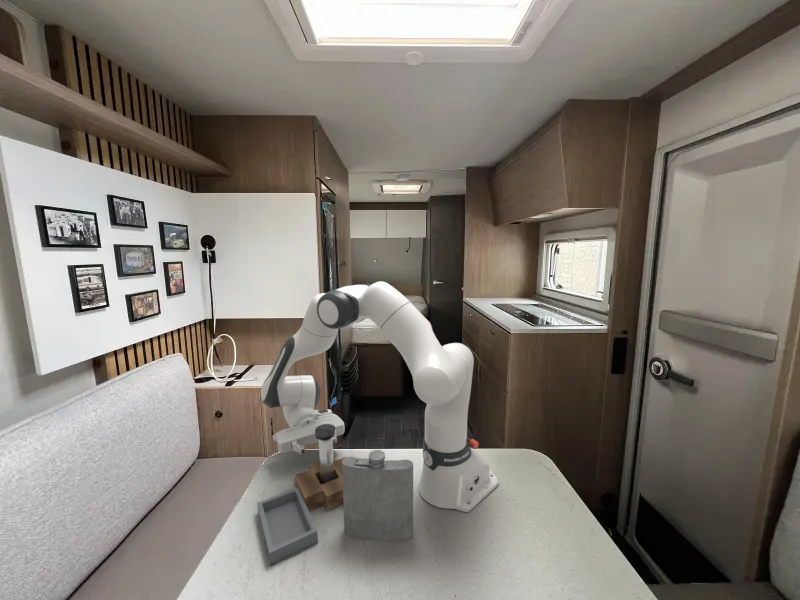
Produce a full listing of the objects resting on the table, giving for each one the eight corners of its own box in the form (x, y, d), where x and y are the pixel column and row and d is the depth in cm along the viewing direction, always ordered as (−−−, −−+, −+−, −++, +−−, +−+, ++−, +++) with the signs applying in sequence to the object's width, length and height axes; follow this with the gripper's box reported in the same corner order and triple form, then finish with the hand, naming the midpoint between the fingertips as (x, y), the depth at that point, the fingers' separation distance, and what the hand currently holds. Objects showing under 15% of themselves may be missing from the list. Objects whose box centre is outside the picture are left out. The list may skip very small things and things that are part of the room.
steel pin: (333, 479, 92) (331, 422, 90) (340, 491, 88) (338, 430, 85) (315, 486, 89) (312, 427, 87) (321, 498, 85) (318, 436, 83)
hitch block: (342, 464, 99) (342, 452, 98) (364, 495, 86) (363, 481, 86) (293, 482, 91) (292, 469, 90) (308, 519, 78) (307, 504, 78)
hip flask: (413, 528, 76) (413, 449, 73) (412, 544, 72) (412, 461, 69) (346, 524, 77) (343, 446, 74) (341, 539, 73) (339, 457, 70)
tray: (298, 497, 86) (298, 487, 85) (317, 543, 72) (317, 531, 72) (257, 513, 80) (257, 502, 80) (270, 565, 67) (269, 553, 66)
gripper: (270, 425, 99) (280, 447, 87) (334, 407, 110) (351, 425, 98) (272, 444, 100) (282, 469, 88) (335, 425, 111) (351, 445, 99)
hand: (318, 446), depth 93 cm, fingers open, 8 cm apart
